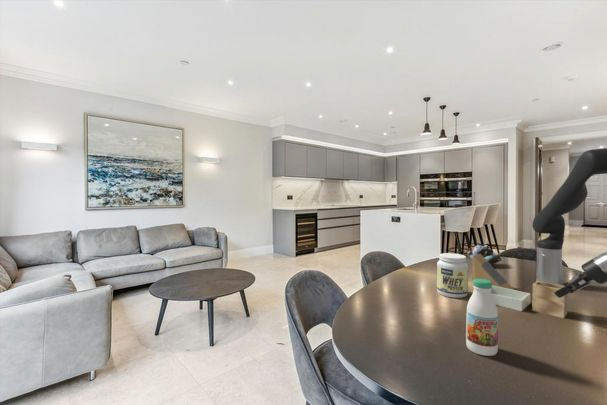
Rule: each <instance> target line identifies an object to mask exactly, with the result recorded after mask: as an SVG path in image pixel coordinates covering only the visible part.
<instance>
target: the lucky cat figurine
mask: <svg viewBox="0 0 607 405" xmlns="http://www.w3.org/2000/svg"><path fill="white" fill-rule="evenodd" d="M477 254H481V255H482V256H483V257H484V258H485V259H486V260H487V261H488V262H489V263H490V264H491V265H492V266H493V265H494V264H497V263H499V262H501V261H502V258H501V256H500V255H499V254H498V253H495V252H493V250H492V249H491V248H490V246H489V245H488V244H486V245H484V244H481V243H479V244H477V245H475V246H474V247H469V248H468V251H467V255H468V257H470V259H471V260H472V261H473V256H474V255H477Z"/></svg>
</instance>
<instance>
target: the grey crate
mask: <svg viewBox="0 0 607 405" xmlns="http://www.w3.org/2000/svg"><path fill="white" fill-rule="evenodd" d="M491 295H492V298H493V300H494V302H495V304H496V306H500V307H502V308H508V309H511V310H514V311H518V312H523V311H524V310H525V309H526V308H527V307H528V306H529V305H530V304H531V293H529V292H524V291H520V290H515V289H514V290H512V289H507V288H502V287H497V286H493V285H492V290H491Z"/></svg>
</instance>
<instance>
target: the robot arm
mask: <svg viewBox="0 0 607 405" xmlns="http://www.w3.org/2000/svg"><path fill="white" fill-rule="evenodd" d="M604 174H605V175H606V174H607V147H604V148H596V149H595V148H593V149H590V150H585V151H584V152H583V153H582V154H581V155H580V156H579V157H578V158H577V160H576V162H575V164H574V165H573V168H572V169H571V171H570V173H569V175H568V176H567V177H566V179H565V180H564V182H563V183H562V185H561V186H560V187H559V188H558V190H556V192H555V194H554V195H553V196H552V198H551V199H550V200H549V201H548V203H547V204H546V205H545V206H544V207H543V208H542V209H541V210H540V211H539V212H538V213H537V214H536V215H535V216H534V218H533V219H532V228H533V231H535V232H536V233H538V234H549V236H548V237H545V238H543V239H539V240H538V241H537V243H536V271H535V272H536V280H535V282H536V281H540V282H546V283H551V284H556V285H562V286H564V287H563V288H561V289H559V290H557V291H556V292H555V295H556V296H557V297H559V298H561V297H563V296H564V295H566V294H568V295H569V294H574V293H575V292H576V291H580V290H581V289H583V288H585V287H587V286H590V285H591V283H592V281H594V282H595V283H597V284H600V285H604V284H606V283H607V251H606V252H603V253H601V254H599V255H597V256H595V257H593V258H592V259H590V260H588V261H586V262H585V263H583V264H582V265H581V269H582V270H583V272H579V273H576V275H574V276H573V277H571V279H569V281H567V282H566V283H564V281H565V278H564V276H565V274H564V273H565V265H564V264H563V245H564V241H565V231H566V230H565V229H566V223H565V222H566V221H565V219H564V217H563V215H566V214H569V213H570V212H573V211H575V210H576V209H577V208H579V206H581V205H582V203H583V202H584V201H585V200H586V199H587V197H588V188H587V185H586V183H587V182H588V180H589V179H590V178H591V177H593V176H595V175H604Z"/></svg>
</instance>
